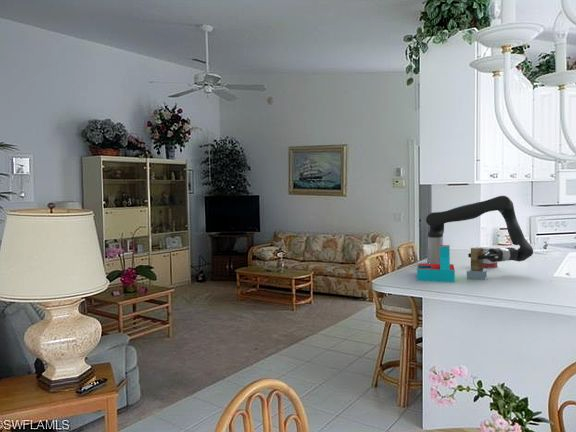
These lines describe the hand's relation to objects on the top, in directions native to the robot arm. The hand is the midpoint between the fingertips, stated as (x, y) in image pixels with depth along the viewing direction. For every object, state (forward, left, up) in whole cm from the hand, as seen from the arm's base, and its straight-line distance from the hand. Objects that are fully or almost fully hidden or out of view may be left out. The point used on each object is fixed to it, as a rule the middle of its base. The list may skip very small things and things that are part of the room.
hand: (473, 256), depth 255 cm
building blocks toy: (-19, -5, -12) cm, 23 cm away
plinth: (+1, +1, -12) cm, 12 cm away
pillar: (+2, +1, -8) cm, 8 cm away
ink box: (+2, +41, -12) cm, 43 cm away
